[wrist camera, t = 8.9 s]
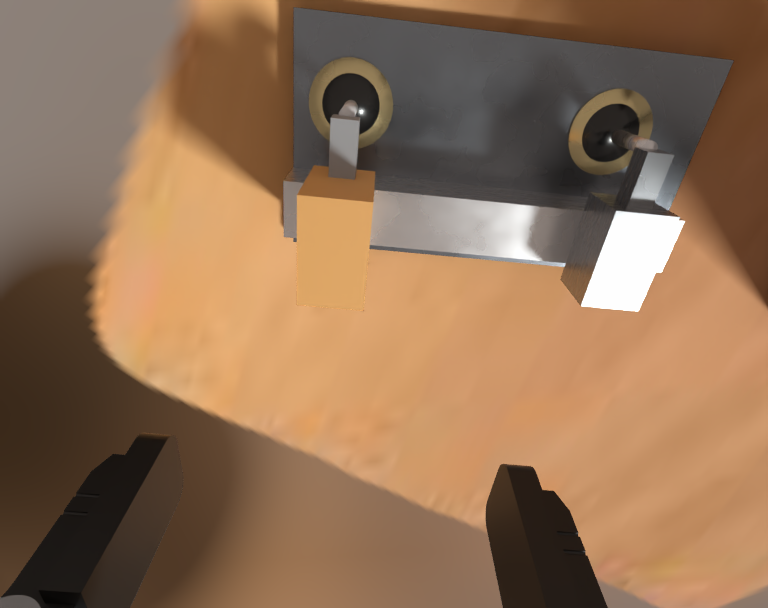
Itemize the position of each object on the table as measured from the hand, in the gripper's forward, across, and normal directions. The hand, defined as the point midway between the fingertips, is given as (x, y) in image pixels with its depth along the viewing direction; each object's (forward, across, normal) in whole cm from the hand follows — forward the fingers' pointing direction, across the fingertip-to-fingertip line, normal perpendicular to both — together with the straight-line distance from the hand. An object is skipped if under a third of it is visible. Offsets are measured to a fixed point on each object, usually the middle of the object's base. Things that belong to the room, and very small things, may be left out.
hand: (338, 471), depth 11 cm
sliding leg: (+17, +1, -3) cm, 17 cm away
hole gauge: (+19, -7, -5) cm, 21 cm away
